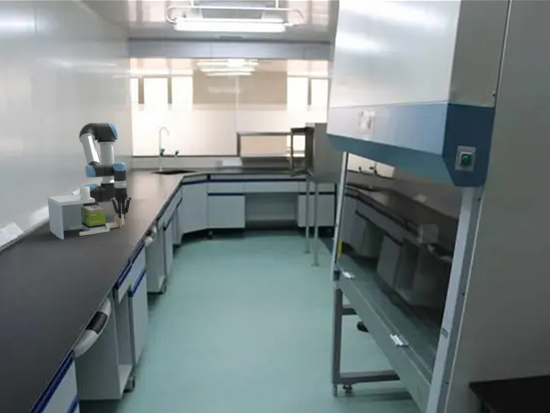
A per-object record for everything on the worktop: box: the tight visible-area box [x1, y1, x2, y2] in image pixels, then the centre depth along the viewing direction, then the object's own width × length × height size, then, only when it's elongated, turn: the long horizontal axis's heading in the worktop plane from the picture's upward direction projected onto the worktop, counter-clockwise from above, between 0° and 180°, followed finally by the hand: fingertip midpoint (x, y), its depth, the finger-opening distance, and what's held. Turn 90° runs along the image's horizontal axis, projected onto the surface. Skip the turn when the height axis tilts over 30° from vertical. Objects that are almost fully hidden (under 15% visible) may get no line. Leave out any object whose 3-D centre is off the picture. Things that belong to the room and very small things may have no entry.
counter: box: [47, 193, 95, 240], centre depth 302 cm, size 24×20×22 cm
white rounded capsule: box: [79, 185, 90, 199], centre depth 297 cm, size 5×5×7 cm
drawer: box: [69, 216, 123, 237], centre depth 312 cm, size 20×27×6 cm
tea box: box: [81, 205, 106, 232], centre depth 309 cm, size 15×10×15 cm
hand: (122, 224), depth 322 cm, fingers closed
